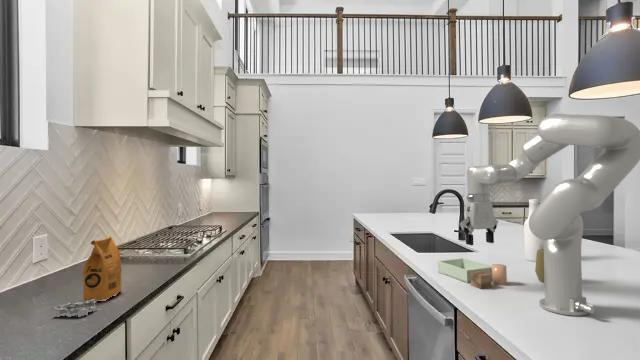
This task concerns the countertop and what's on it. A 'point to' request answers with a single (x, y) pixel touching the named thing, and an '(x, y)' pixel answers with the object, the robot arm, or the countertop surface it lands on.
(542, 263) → the squeeze bottle
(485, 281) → the walnut cube
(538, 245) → the alcohol
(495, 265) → the terracotta cylinder
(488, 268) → the tote
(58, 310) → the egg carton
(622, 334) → the countertop surface
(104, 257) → the coffee package
